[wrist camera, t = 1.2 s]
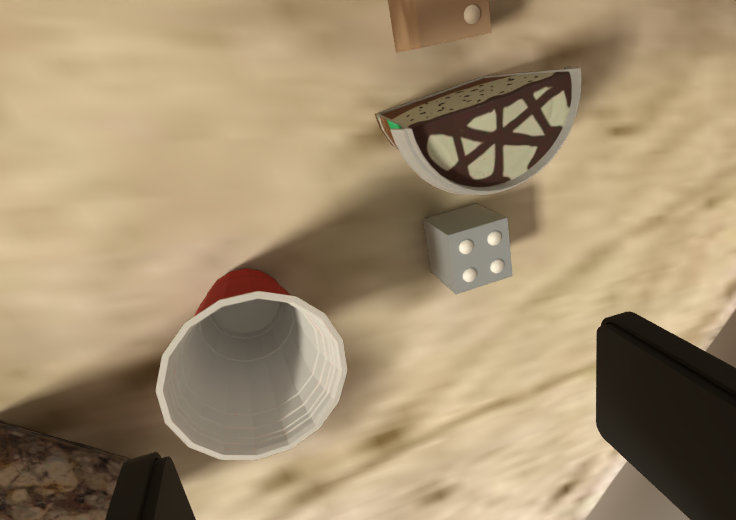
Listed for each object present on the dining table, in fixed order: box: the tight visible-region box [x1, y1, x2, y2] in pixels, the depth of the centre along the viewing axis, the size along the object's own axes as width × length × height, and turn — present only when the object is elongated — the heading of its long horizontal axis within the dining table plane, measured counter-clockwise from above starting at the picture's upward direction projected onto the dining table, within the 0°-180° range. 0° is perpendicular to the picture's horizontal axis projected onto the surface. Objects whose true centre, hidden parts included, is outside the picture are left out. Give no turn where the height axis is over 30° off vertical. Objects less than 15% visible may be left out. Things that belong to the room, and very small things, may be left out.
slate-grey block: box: [423, 203, 512, 294], centre depth 39 cm, size 5×5×5 cm
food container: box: [375, 66, 582, 195], centre depth 34 cm, size 12×6×10 cm, turn 107°
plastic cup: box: [156, 269, 347, 460], centre depth 33 cm, size 11×11×12 cm
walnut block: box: [388, 0, 491, 52], centre depth 33 cm, size 5×5×5 cm
